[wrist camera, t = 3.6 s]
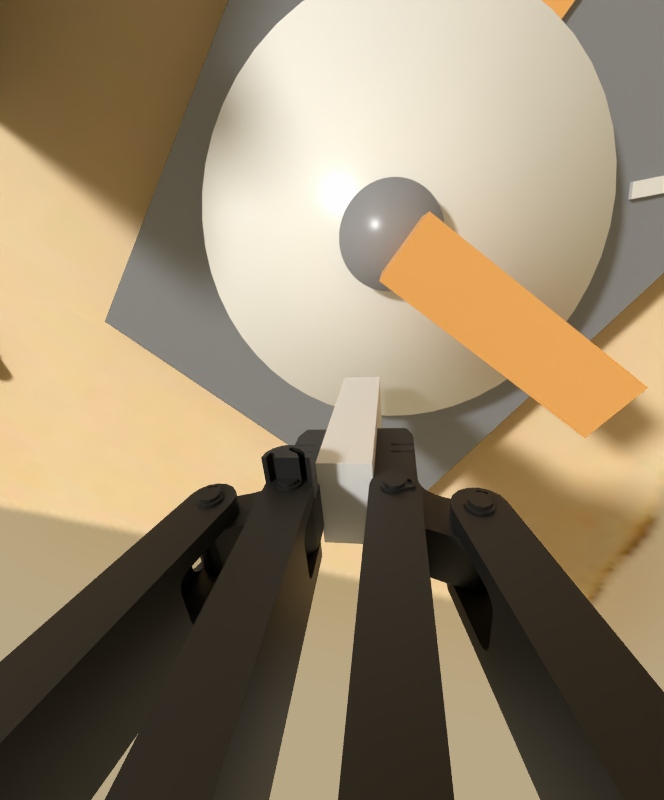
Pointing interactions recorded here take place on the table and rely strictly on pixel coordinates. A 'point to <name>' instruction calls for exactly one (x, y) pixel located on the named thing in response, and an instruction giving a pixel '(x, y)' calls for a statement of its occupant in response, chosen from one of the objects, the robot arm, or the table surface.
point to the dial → (418, 204)
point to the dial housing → (234, 359)
